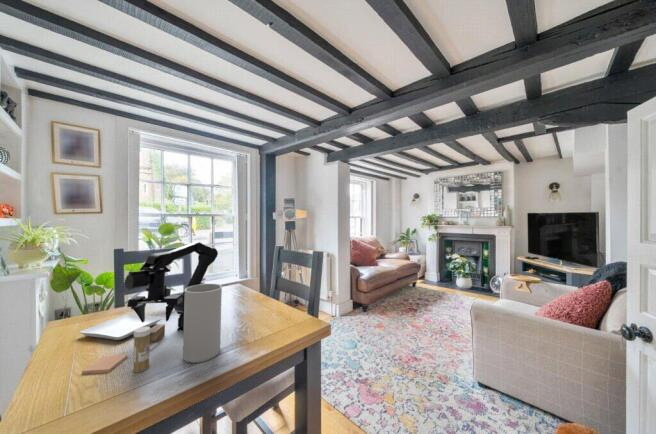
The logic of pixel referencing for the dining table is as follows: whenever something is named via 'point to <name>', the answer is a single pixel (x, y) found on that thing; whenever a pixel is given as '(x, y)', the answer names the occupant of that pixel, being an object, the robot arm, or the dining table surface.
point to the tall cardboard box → (156, 335)
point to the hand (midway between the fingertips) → (155, 321)
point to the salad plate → (120, 326)
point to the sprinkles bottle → (141, 349)
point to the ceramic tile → (104, 364)
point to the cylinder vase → (202, 322)
